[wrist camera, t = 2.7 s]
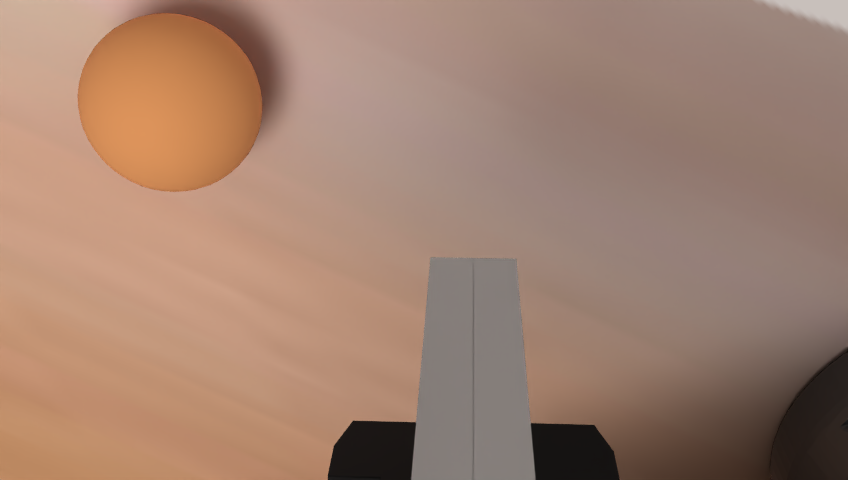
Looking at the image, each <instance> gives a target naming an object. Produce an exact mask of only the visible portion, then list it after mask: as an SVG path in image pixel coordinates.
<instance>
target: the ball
mask: <svg viewBox="0 0 848 480" xmlns="http://www.w3.org/2000/svg"><path fill="white" fill-rule="evenodd" d="M78 108H79V114H80V119H81V123H82V126H83V129H84V131H85V134H86V136H87V138H88V140H89V142H90V143H91V145H92V147H93V148H94V150H95V151H96V152H97V154H98V155H99V156H100V157H101V158H102V160H103V161H104V162H105V163H106V164H107V165H108V166H109V167H111V168H112V169H113V170H114V171H115V172H117V173H118V174H120V175H121V176H123V177H124V178H126V179H128V180H130V181H132V182H134V183H136V184H139V185H141V186H144V187H147V188H150V189H154V190H160V191H170V192H177V191H189V190H195V189H199V188H202V187H205V186H208V185H211V184H213V183H215V182H217V181H219V180H221V179H222V178H224V177H225V176H227V175H228V174H229V173H231V172H232V171H233V170H234V169H235V168H236V167H238V166H239V165H240V163H241V162H242V161H243V160H244V158H245V157H246V156H247V155H248V153H249V152H250V150H251V148H252V147H253V145H254V142H255V140H256V137H257V135H258V132H259V129H260V124H261V117H262V95H261V90H260V85H259V82H258V79H257V76H256V73H255V71H254V69H253V67H252V64H251V63H250V61H249V59H248V58H247V56H246V55H245V53H244V52H243V51H242V50H241V48H240V47H239V46H238V45H237V44H236V43H235V42H234V41H233V40H232V39H231V38H230V37H229V36H227V35H226V34H225V33H224V32H222V31H221V30H219V29H218V28H216V27H214V26H213V25H211V24H209V23H207V22H205V21H202V20H200V19H196V18H193V17H190V16H185V15H180V14H172V13H160V14H150V15H146V16H141V17H137V18H135V19H132V20H129V21H127V22H125V23H123V24H122V25H120V26H118V27H116V28H114V29H113V30H112V31H111V32H109V33H108V34H107V35H106V36H105V37H104V38H103V39H102V40H101V41H100V42H99V43H98V44H97V45H96V46H95V48H94V49H93V51H92V52H91V54H90V55H89V57H88V59H87V61H86V63H85V65H84V68H83V70H82V74H81V78H80V82H79V89H78Z"/></svg>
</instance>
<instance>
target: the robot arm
mask: <svg viewBox="0 0 848 480" xmlns="http://www.w3.org/2000/svg"><path fill="white" fill-rule="evenodd" d="M770 474H771V480H848V352H847V353H845V354H844V355H842V356H841V357H839V358H838V359H837V360H836V361H834V362H833V363H832V364H830V365H829V366H828V367H827V368H826V369H825V370H823V371H822V372H821V373H820V374H819V375H818V376H817V377H816V378H815V379H814V380H813V381H812V382H811V383H810V384H809V385H808V386H807V387H806V388H805V389H804V390H803V392H802V393H801V394H800V395H799V396H798V398H797V399H796V400H795V402H794V403H793V404H792V406H791V408H790V409H789V411H788V412H787V414H786V416H785V417H784V419H783V421H782V423H781V425H780V428H779V430H778V432H777V435H776V438H775V441H774V444H773V449H772V453H771V462H770ZM328 480H620V479H619V475H618V470H617V465H616V460H615V455H614V451H613V450H612V449H611V447H610V446H609V445H608V443H607V442H606V441H605V439H604V438H603V436H602V435H601V434H600V432H599V431H598V430H597V428H596V427H595V426H594V425H573V424H536V423H531V422H530V411H529V399H528V388H527V376H526V365H525V353H524V342H523V330H522V319H521V307H520V296H519V284H518V273H517V261H516V259H500V258H436V257H431V259H430V270H429V282H428V293H427V305H426V316H425V327H424V339H423V350H422V362H421V373H420V385H419V396H418V407H417V419H416V422H381V421H353V422H352V423H351V424H350V426H349V427H348V428H347V429H346V431H345V432H344V433H343V435H342V436H341V437H340V439H339V440H338V441H337V443H336V444H335V445H334V448H333V453H332V458H331V463H330V468H329V473H328Z"/></svg>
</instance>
